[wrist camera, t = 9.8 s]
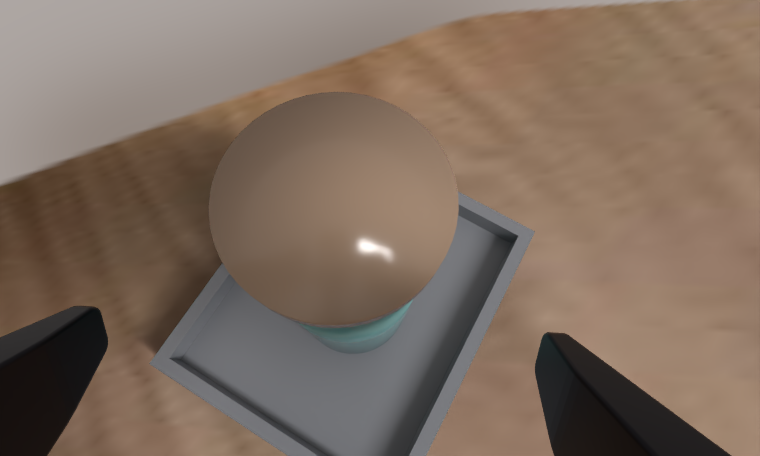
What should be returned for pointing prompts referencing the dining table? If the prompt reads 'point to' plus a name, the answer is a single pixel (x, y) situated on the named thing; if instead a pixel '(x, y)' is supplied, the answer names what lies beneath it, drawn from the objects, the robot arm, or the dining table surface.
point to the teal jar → (335, 215)
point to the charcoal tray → (349, 371)
